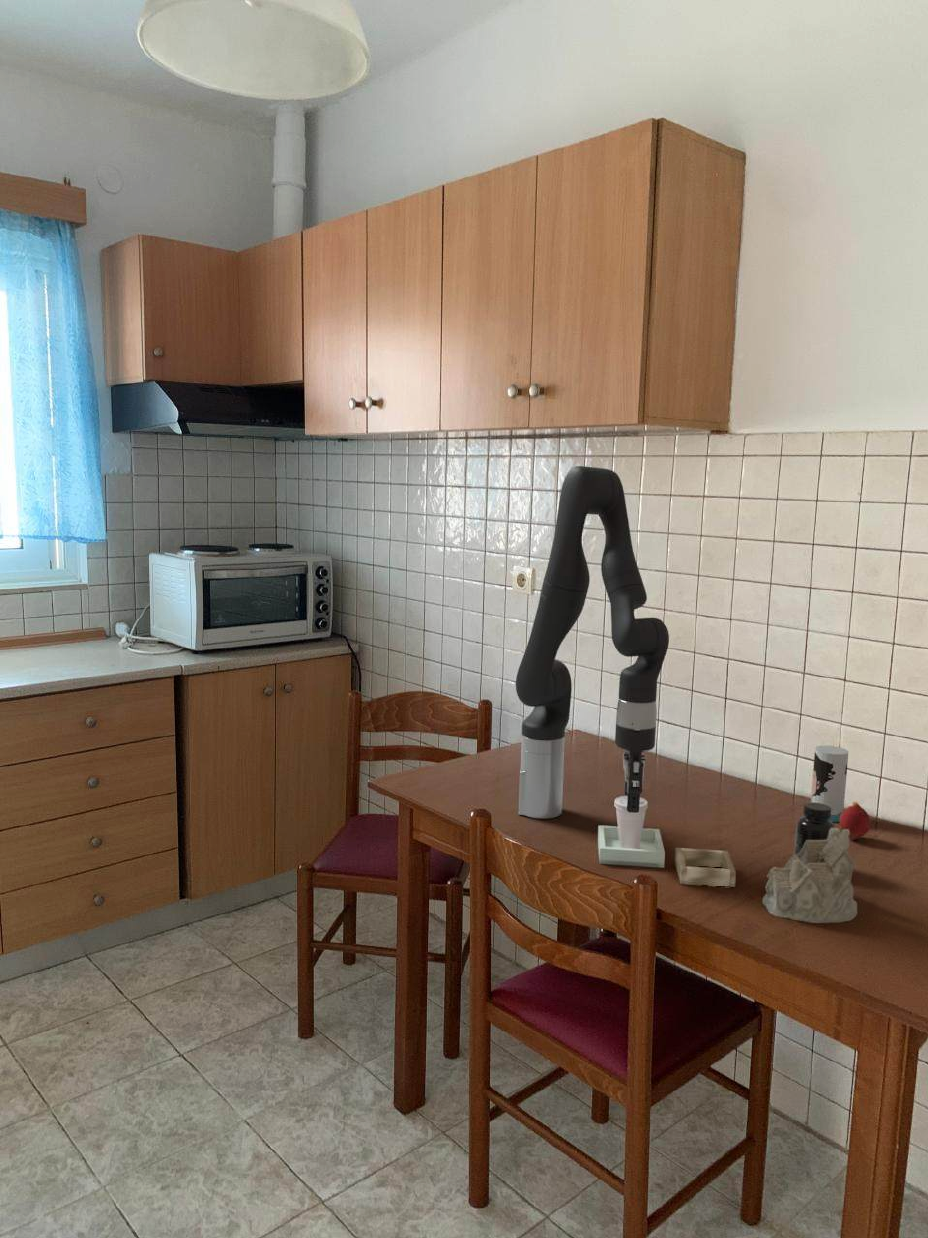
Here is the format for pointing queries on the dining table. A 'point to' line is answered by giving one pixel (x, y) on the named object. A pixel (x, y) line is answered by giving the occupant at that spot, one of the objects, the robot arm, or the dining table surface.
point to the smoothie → (630, 822)
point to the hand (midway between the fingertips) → (631, 804)
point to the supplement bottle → (813, 824)
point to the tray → (645, 856)
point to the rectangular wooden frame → (704, 874)
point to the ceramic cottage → (814, 882)
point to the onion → (855, 821)
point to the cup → (830, 778)
